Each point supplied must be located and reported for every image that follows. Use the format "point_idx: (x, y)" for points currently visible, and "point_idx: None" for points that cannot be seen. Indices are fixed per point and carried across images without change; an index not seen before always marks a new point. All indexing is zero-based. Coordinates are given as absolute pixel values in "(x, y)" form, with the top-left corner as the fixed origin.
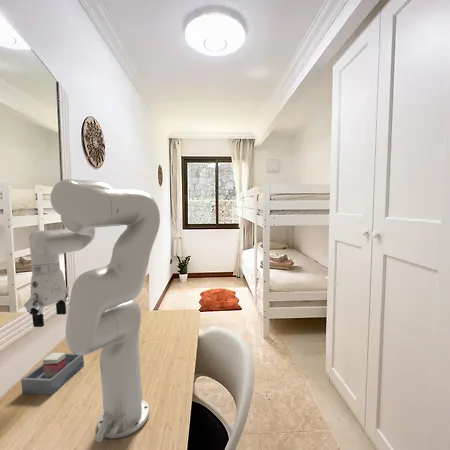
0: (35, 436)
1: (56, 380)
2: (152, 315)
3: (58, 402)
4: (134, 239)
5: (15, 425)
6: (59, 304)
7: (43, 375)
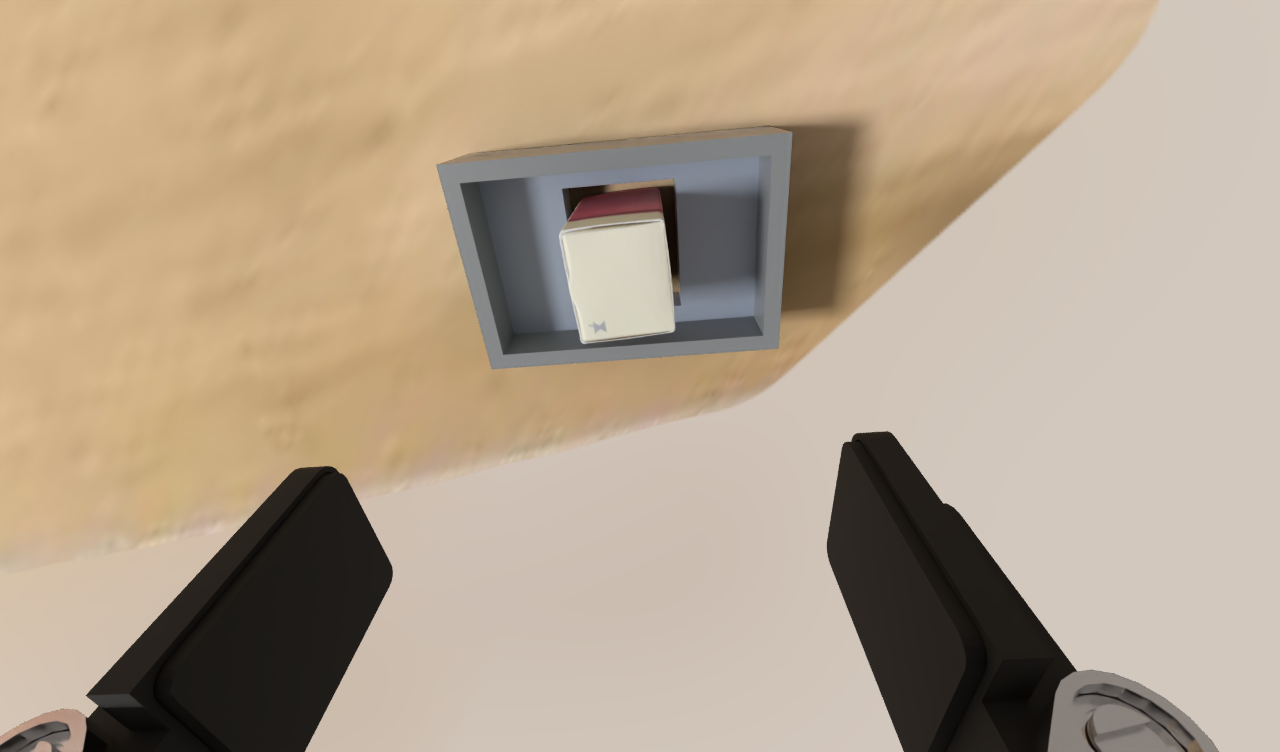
0: None
1: (735, 135)
2: None
3: (836, 10)
4: None
5: (1001, 126)
6: (249, 727)
7: None
